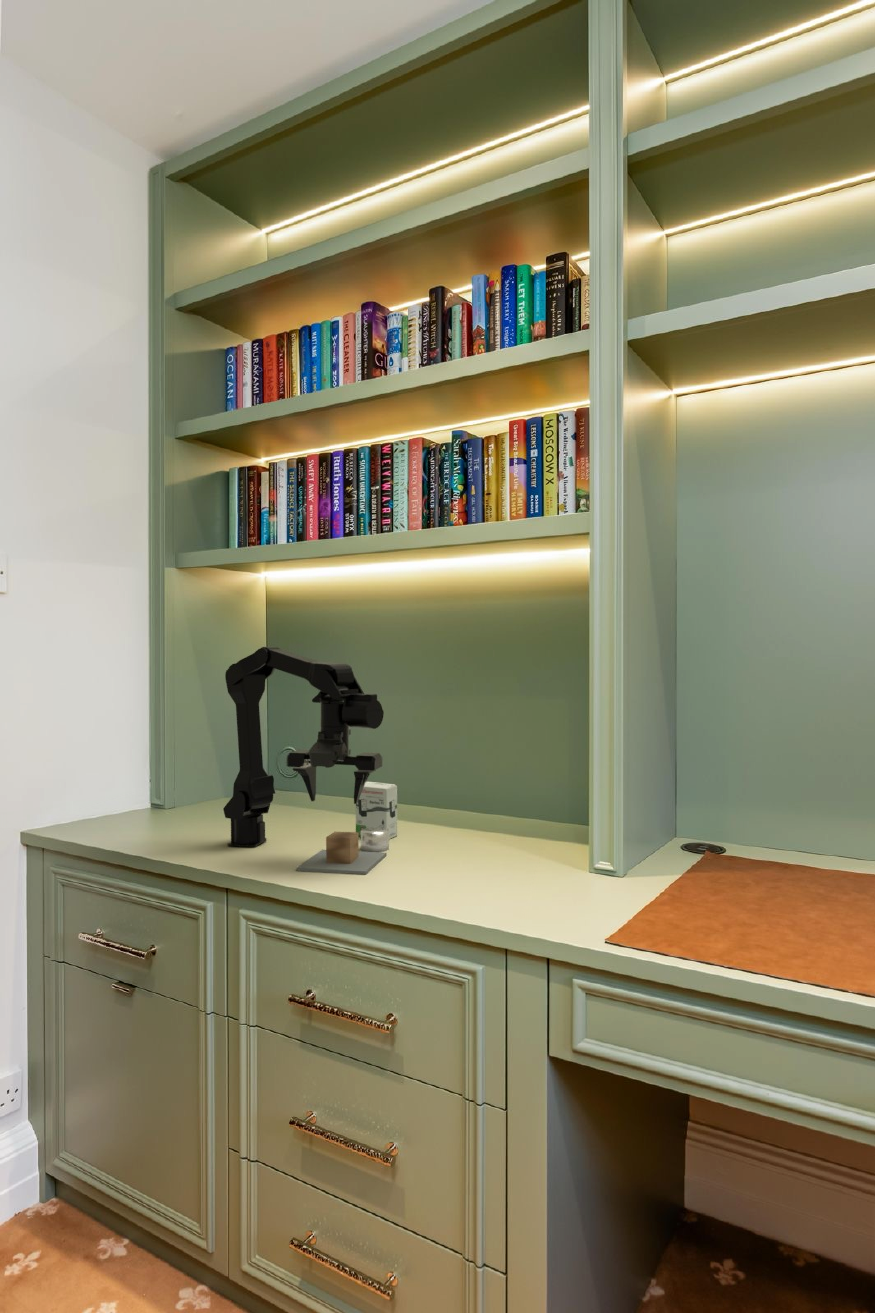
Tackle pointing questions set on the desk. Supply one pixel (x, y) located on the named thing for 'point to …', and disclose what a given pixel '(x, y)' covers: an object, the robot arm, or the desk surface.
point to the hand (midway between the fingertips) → (334, 802)
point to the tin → (374, 839)
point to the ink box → (377, 808)
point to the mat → (356, 867)
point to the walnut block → (342, 847)
